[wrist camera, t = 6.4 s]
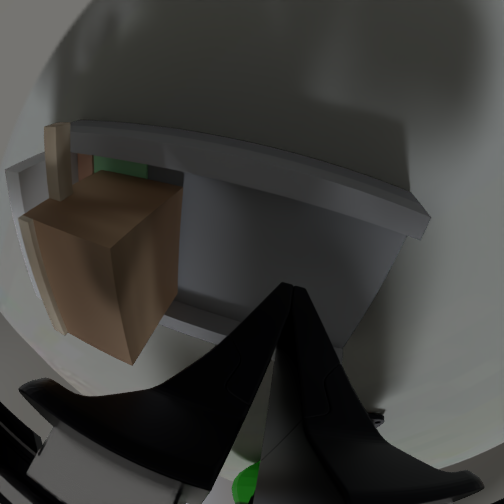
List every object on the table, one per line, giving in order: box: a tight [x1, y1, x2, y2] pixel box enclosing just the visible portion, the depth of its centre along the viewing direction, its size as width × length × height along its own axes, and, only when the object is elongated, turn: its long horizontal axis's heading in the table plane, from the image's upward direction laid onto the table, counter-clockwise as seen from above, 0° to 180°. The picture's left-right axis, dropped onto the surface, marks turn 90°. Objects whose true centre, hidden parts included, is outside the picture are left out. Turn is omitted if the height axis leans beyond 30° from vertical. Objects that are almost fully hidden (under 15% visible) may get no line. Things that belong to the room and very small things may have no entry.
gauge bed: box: [5, 120, 431, 364], centre depth 10 cm, size 14×8×4 cm, turn 79°
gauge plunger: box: [18, 122, 183, 366], centre depth 8 cm, size 4×7×4 cm, turn 169°
